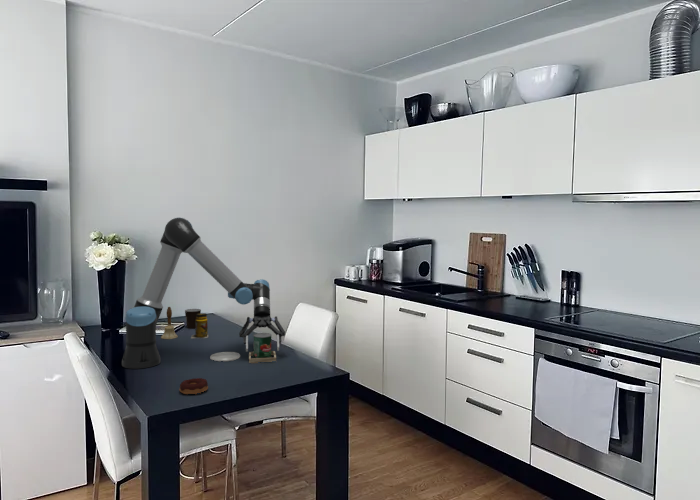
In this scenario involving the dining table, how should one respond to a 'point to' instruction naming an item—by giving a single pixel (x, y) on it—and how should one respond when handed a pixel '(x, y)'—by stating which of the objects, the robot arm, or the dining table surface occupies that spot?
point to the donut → (193, 386)
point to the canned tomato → (262, 345)
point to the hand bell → (169, 327)
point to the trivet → (225, 356)
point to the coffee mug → (191, 317)
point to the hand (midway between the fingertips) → (262, 349)
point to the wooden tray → (256, 360)
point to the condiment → (201, 326)
